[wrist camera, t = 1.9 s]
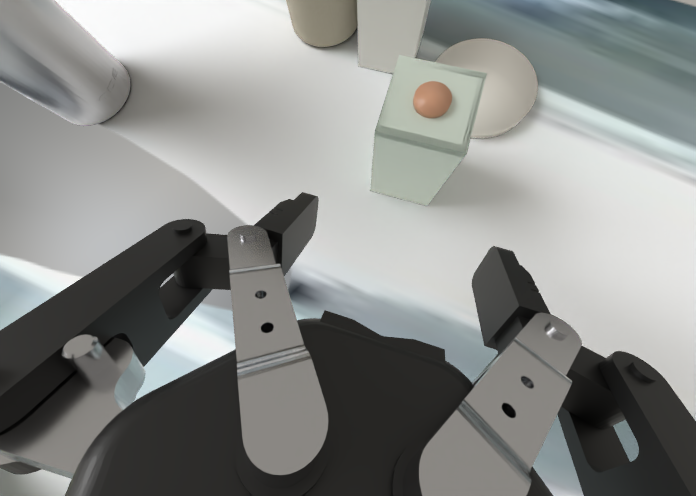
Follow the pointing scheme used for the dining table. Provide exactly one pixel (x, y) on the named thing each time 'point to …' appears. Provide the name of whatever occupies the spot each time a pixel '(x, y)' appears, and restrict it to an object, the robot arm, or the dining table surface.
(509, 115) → the dish
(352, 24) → the travel mug
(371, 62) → the tall white lidded box
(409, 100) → the pale grey boxy piece
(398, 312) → the dining table surface
